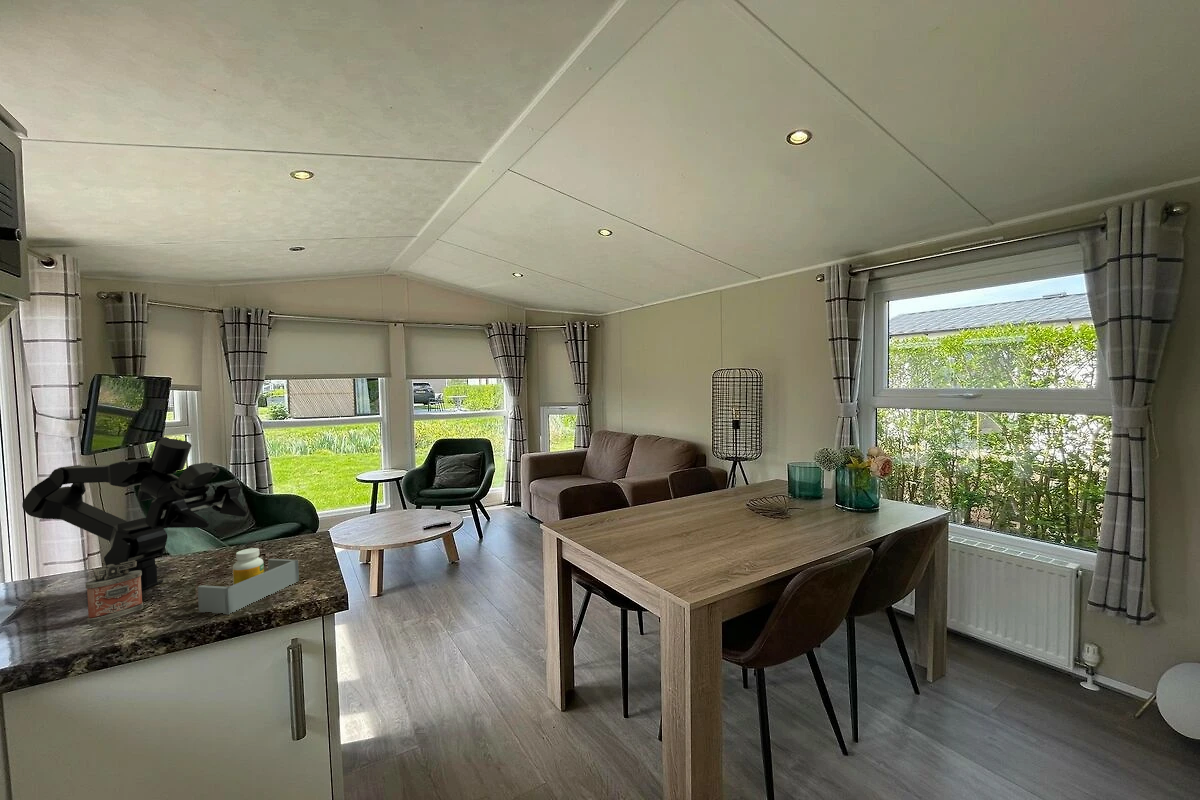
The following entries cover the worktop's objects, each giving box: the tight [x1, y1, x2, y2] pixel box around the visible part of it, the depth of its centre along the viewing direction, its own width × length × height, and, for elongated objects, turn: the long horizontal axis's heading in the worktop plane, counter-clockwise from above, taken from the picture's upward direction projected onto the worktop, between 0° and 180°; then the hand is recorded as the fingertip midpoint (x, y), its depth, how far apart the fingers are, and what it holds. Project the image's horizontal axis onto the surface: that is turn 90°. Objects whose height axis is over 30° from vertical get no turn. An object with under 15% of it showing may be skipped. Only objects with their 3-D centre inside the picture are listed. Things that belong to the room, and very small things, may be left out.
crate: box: [197, 558, 300, 615], centre depth 105 cm, size 7×17×5 cm, turn 167°
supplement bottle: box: [232, 547, 265, 585], centre depth 105 cm, size 5×5×10 cm
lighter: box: [85, 560, 144, 624], centre depth 98 cm, size 8×3×10 cm, turn 148°
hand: (227, 519), depth 108 cm, fingers open, 9 cm apart
